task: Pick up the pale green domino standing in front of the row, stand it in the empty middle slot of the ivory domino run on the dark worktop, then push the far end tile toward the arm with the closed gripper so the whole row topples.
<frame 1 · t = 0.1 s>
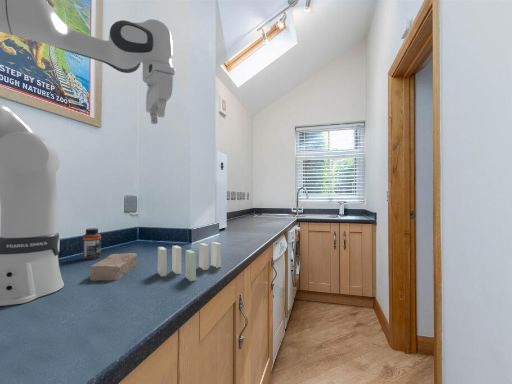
hand: (157, 120, 85), 48 cm above the counter, tool pointing down, fingers open, 8 cm apart
pale green domino: (190, 278, 79), on the counter
domino 5: (162, 274, 84), on the counter
domino 1: (216, 266, 93), on the counter
brick: (115, 273, 86), on the counter
domino 4: (176, 272, 86), on the counter
domino 2: (203, 268, 91), on the counter
supplement bottle: (91, 258, 105), on the counter
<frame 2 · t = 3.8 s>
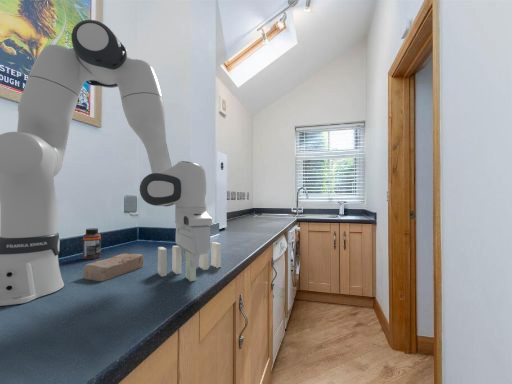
hand: (190, 264, 79), 4 cm above the counter, tool pointing down, fingers closed on pale green domino, 5 cm apart
pale green domino: (190, 278, 79), on the counter, touching gripper
when the fingers open (5 cm above the counter, at t = 8.9 s): pale green domino stays where it is, on the counter.
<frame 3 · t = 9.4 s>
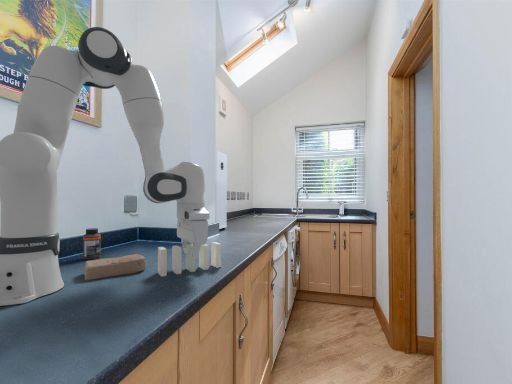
hand: (190, 254, 89), 5 cm above the counter, tool pointing down, fingers open, 8 cm apart
pale green domino: (190, 270, 89), on the counter
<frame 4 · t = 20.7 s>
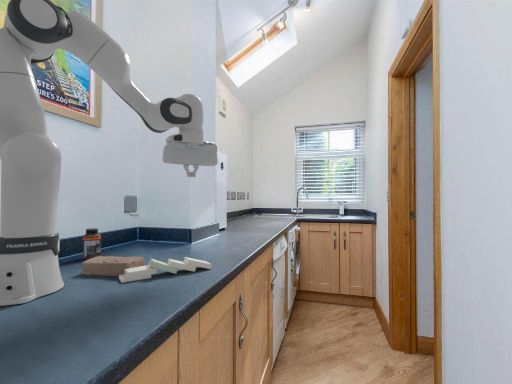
hand: (191, 177, 101), 31 cm above the counter, tool pointing down, fingers closed
pale green domino: (175, 269, 86), point 1 cm above the counter, tilted 66°, touching domino 2, domino 4
domino 5: (149, 275, 82), on the counter, tilted 90°, touching domino 4
domino 1: (208, 265, 92), point 1 cm above the counter, tilted 72°, touching domino 2
domino 4: (154, 268, 83), point 2 cm above the counter, tilted 90°, touching domino 5, pale green domino
domino 2: (193, 267, 89), point 1 cm above the counter, tilted 71°, touching domino 1, pale green domino
at the end: pale green domino inside the target area (3.5 cm from its centre), point 0.8 cm above the counter; domino 5 tilted 90°; pale green domino tilted 66° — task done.
